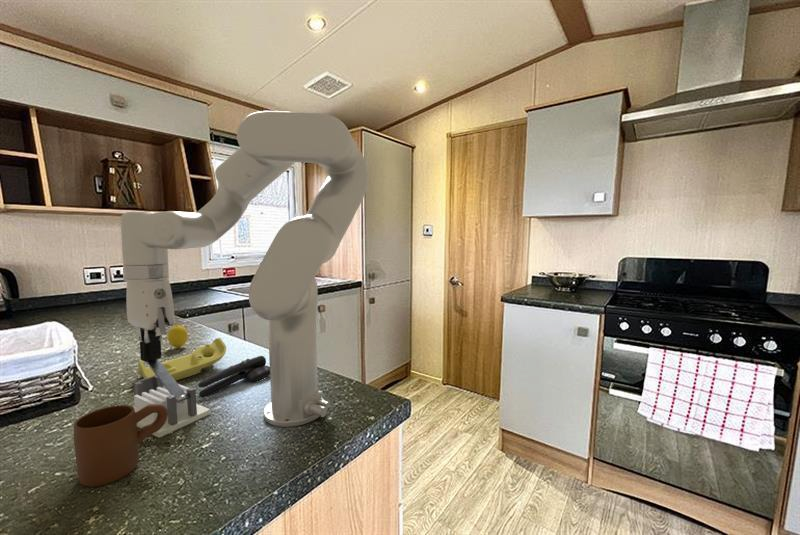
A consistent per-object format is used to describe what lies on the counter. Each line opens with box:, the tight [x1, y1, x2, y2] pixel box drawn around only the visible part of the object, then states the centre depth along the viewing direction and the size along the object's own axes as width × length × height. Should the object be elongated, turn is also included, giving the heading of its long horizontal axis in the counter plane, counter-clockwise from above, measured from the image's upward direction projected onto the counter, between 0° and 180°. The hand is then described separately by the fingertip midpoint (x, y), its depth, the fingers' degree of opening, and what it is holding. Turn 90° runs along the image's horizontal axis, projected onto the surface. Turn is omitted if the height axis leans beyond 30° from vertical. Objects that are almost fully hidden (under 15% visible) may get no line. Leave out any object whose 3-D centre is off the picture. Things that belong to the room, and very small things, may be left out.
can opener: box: [197, 355, 270, 397], centre depth 88 cm, size 18×7×6 cm, turn 141°
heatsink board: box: [132, 375, 211, 439], centre depth 73 cm, size 15×10×6 cm, turn 60°
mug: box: [73, 404, 168, 488], centre depth 57 cm, size 12×8×9 cm, turn 133°
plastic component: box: [137, 337, 227, 382], centre depth 96 cm, size 20×7×10 cm
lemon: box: [167, 324, 189, 349], centre depth 116 cm, size 6×6×8 cm
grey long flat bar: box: [145, 358, 190, 403], centre depth 72 cm, size 14×3×1 cm, turn 61°
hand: (151, 358), depth 74 cm, fingers closed
